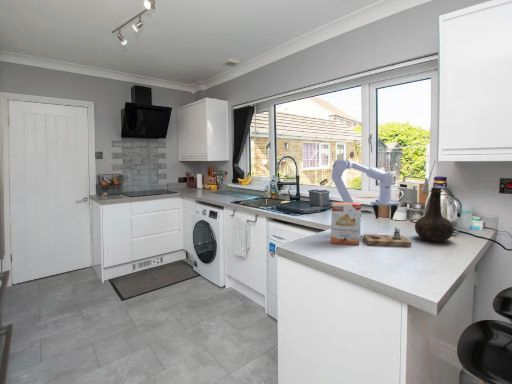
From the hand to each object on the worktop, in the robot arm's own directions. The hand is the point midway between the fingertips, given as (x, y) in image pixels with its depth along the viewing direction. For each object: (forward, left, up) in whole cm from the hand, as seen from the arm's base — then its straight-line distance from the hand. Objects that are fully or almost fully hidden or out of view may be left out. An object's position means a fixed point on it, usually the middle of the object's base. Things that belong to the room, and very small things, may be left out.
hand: (384, 218), depth 161 cm
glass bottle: (+24, -4, -10) cm, 26 cm away
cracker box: (-23, -16, -10) cm, 30 cm away
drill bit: (+3, -13, -10) cm, 17 cm away
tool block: (-2, -13, -10) cm, 16 cm away
